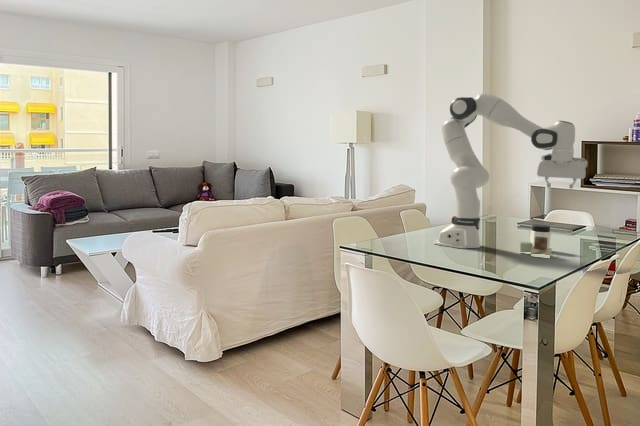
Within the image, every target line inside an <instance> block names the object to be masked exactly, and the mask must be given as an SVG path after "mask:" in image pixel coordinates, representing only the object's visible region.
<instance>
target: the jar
mask: <svg viewBox="0 0 640 426" xmlns="http://www.w3.org/2000/svg"><path fill="white" fill-rule="evenodd" d="M551 233H552V231H551V226H550V225H548V224H532V225H531V230H530V235H529V237H530V239H529V242H531V243H532V244H533V246H535V237H536V236H538V237H548V241H547V248H549V247H550V245H551ZM533 246H532V247H533ZM550 248H551V247H550Z"/></svg>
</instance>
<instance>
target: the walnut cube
mask: <svg viewBox="0 0 640 426" xmlns="http://www.w3.org/2000/svg"><path fill="white" fill-rule="evenodd" d="M547 241H548V237H538V236H536V237H535V246H534V249H541V250H546V249H547Z"/></svg>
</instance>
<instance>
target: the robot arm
mask: <svg viewBox="0 0 640 426" xmlns="http://www.w3.org/2000/svg"><path fill="white" fill-rule="evenodd" d="M449 113H450V115H451V118H449V119H447V120H446V121H444V122H443V123H442V125H441V133H442V138H443V142H444V145H445V148H446V150H447V153H448V155H449V158H450V160H451V161H452V162H453V163H454V164H455V165H456V167H457V168H455V169H453V171H452V172H451V174H450V176H449V177H450V178H449V179H450V183H451V185H452V186H453V188H454V191H455V198H456V204H455V205H456V207H455V208H456V209H455V215H453V216H452V217H451V219H450V220H451V222H450V224H449V225H447V226H445V227H444V228H442V229H441V230H440V231H439V234H438V238H437V239H434V240H433V244H434V245H438V246H442V247H443V246H444V247H448V248H449V247H450V248H456V249H479V248H481V243H480V242H481V241H480V228H481V218H480V212H481V201H480V199H479V197H478V196H479V195H478V191H477V189H480V188H481V187H483V186H485V185H486V184H487V183H488V182H489V179H490V173H489V171H488V169H486V168H485V167H484V166H483V165H482V163H481V162H480V161H479V158H478V157H477V156H476V154H475V152H474V150H473V148H472V145H471V143H470V140H469V137H468V135H467V131H466V129H465V128H467V127H469V125H470V124H472V123H473V122H474V121H475V120H476V118H477V116H482V117H484V118H485V119H487V120H488V121H490V122H492V123H494V124H496V125H499V126H502V127H507V128H511V129H514V130H516V131H519V132H520V133H523V134H524V135H526V136H528V137H529V138H530V141H531V144H532V145H533V146H534V147H535V148H536V149H540V150H543V151H550V150H552V152H551V153H547V154H544V155H541V157H540V158H541V159H540V160H541V161H540V162H539V163H538V166H537V172H536V175H537V176H538V177H540V178H544V180H545V182H546V187H547V188H551V184H552V183H551V182H549V181H548V180H549V178H562V179H572V181H573V182H572V183H571V184H569V189H574V185H575V184H576V182H577V180H578V179H580V180H584V179H585V178H586V174H587V173H586V172H587V171H586V168H587V167H588V163H589V162H588V160H587V159H585V158H584V157H574V153H575V149H574V145H575V141H576V127H575V125H574V123H572V122H569V121H565V120H556V121H555V122H554V123H552V124H549V125H548V126H545V127H544V126H543V127H541V126H540V125H537V124H536V123H534V122H532V121H531V120H529V119H527V118H525V117H524V116H523V115H522V114H521V113H520V112H518V110H516V108H514V107H513V106H512V105H511V104H509V103H508V102H507V101H505V100H504V99H502V98H500V97H499V96H496V95H495V94H492V93H490V92H486V91H483V92H480V93H478V94H477V96H476V97H475V98H473V97H470V96H469V97H465V96H464V97H463V96H462V97H456V98H454V99H453V100H452V101H451V103H450V105H449Z"/></svg>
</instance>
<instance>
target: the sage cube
mask: <svg viewBox="0 0 640 426" xmlns="http://www.w3.org/2000/svg"><path fill="white" fill-rule="evenodd" d="M532 246H533V244H532V243H531V242H530V241H519V246H518V247H519V248H518V252H519V251H520V252H531V248H532Z"/></svg>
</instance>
